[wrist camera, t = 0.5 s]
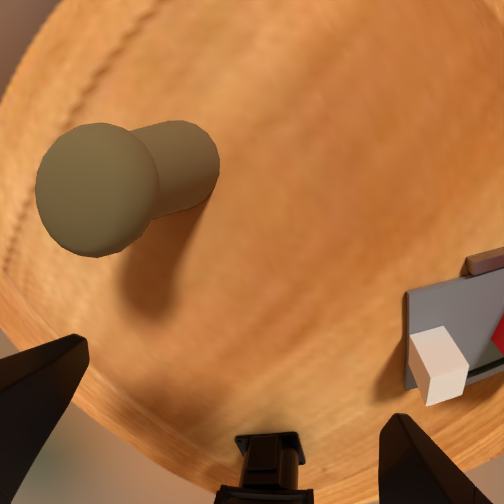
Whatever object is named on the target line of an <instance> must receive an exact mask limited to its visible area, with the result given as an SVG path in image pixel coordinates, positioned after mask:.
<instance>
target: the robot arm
mask: <svg viewBox="0 0 504 504" xmlns="http://www.w3.org/2000/svg"><path fill="white" fill-rule="evenodd" d="M88 365H89V350H88V342H87V339H86V338H85V337H82V336H80V335H78V334H71V335H68V336H65V337H62V338H59V339H56V340H54V341H51V342H48V343H45V344H42V345H39V346H37V347H34V348H31V349H28V350H25V351H22V352H19V353H17V354H14V355H11V356H8V357H5V358H2V359H0V504H11V501H12V500H13V498H14V496H15V494H16V493H17V491H18V489H19V487H20V485H21V483H22V482H23V480H24V478H25V476H26V474H27V472H28V471H29V469H30V467H31V466H32V464H33V462H34V461H35V459H36V457H37V455H38V454H39V452H40V450H41V448H42V447H43V445H44V444H45V442H46V440H47V439H48V437H49V436H50V434H51V432H52V431H53V429H54V427H55V426H56V424H57V422H58V421H59V419H60V418H61V416H62V415H63V413H64V411H65V410H66V408H67V407H68V405H69V403H70V401H71V399H72V397H73V395H74V393H75V391H76V389H77V387H78V385H79V383H80V381H81V379H82V377H83V375H84V373H85V371H86V369H87V367H88ZM235 442H236V444H237V446H238V448H239V450H240V452H241V453H242V455H243V457H244V459H243V465H242V470H241V476H240V482H239V487H232V486H227V485H221V488H220V490H219V491H217V493H216V498H215V501H214V504H314V494H313V489H307V490H298V465H304V464H305V463H306V460H305V456H304V452H303V449H302V445H301V442H300V438H299V435H298V433H297V432H287V433H276V434H264V435H246V436H236V438H235ZM378 485H379V504H493V503H492V502H491V501H490V500H489V499H488V498H487V497H486V496H485V495H484V494H483V493H482V492H481V491H480V490H479V489H478V488H477V487H475V485H474V484H473V483H472V482H471V481H470V480H469V478H468V477H467V476H466V475H465V474H464V473H463V472H462V471H461V470H460V469H459V468H458V467H457V466H456V465H455V464H454V463H453V462H452V461H451V459H450V458H449V457H448V456H447V455H446V454H445V453H444V452H443V451H442V450H441V449H440V448H439V447H438V446H437V445H436V444H435V443H434V441H433V440H432V439H431V438H430V437H429V436H428V435H427V434H426V433H425V432H424V431H423V430H422V429H421V428H420V427H419V426H418V425H417V424H416V422H415V421H414V420H413V419H412V418H411V417H410V416H409V415H408V414H404V413H395V414H393V415H392V417H391V418H390V419H389V421H388V422H387V423H386V425H385V426H384V427H383V428H382V430H381V432H380V436H379V469H378Z"/></svg>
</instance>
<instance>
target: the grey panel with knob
mask: <svg viewBox="0 0 504 504" xmlns="http://www.w3.org/2000/svg"><path fill="white" fill-rule="evenodd" d="M503 314H504V267H501V268H497V269H494V270H491V271H488V272H484V273H481V274H477V275H474V276H473V275H472V274H470V275H467V276H463V277H460V278H456V279H452V280H449V281H445V282H441V283H437V284H433V285H430V286H426V287H422V288H418V289H414V290H409V291H407V347H406V367H405V382H404V387H405V390H406V391H407V390H410V389H414V388H419V391H420V393H421V396H422V398H423V401H424V403H425V406H426V407H427V406H430V405H433V404H436V403H439V402H442V401H445V400H448V399H451V398H454V397H457V396H460V395H462V393H463V389H464V385H465V381H466V377H467V373H468V371H470V370H473V369H475V368H478V367H481V366H483V365H486V364H488V363H491V362H493V361H495V360H498V359H500V358H503V357H504V356H503V355H502V353H501V352H500V351H499V349H498V348H497V347H496V345H495V344H494V343H493V341H492V340H491V337H492V335H493V334H494V332H495V330H496V328H497V326H498V324H499V322H500V320H501V318H502V316H503Z"/></svg>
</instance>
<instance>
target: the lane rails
mask: <svg viewBox="0 0 504 504" xmlns="http://www.w3.org/2000/svg"><path fill="white" fill-rule="evenodd" d="M501 267H504V247H502V248H498V249H494V250H491V251H487V252H484V253H480V254H476V255H472V256H469V257H467V263H466V269H467V270H468V271H469V272H470V273H471V274H472V275H473V276H474V275H477V274H481V273H484V272H488V271H491V270H494V269H497V268H501ZM502 371H504V357H503V358H500V359H498V360H495V361H493V362H491V363H488V364H486V365H483V366H481V367H478V368H475V369H473V370H470V371H468V373H467V377H466V381H465V385H464V386H467V385H470V384H472V383H475V382H478V381H480V380H483V379H485V378H488V377H490V376H492V375H495V374H497V373H499V372H502Z"/></svg>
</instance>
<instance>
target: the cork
mask: <svg viewBox="0 0 504 504" xmlns="http://www.w3.org/2000/svg"><path fill="white" fill-rule="evenodd" d="M219 167H220V159H219V155H218V152H217V148H216V145H215V143H214V142H213V141H212V139H211V138H210V136H209V135H208V133H207V132H205V131H204V130H203V129H201V128H200V127H199V126H197V125H196V124H192V123H189V122H186V121H183V120H182V121H167V122H163V123H158V124H154V125H151V126H147V127H143V128H139V129H136V130H132V131H127V130H126V129H124V128H122V127H118V126H115V125H111V124H107V123H93V124H86V125H81V126H78V127H76V128H74V129H72V130H70V131H68V132H67V133H65V134H63V135H62V136H60V137H59V138H58V139H57V140H56V141H55V143H54V144H53V145H52V146H51V147H50V149H49V150H48V151H47V153H46V154H45V155H44V157H43V159H42V162H41V164H40V167H39V169H38V172H37V178H36V186H35V194H36V204H37V208H38V212H39V215H40V218H41V221H42V223H43V225H44V226H45V228H46V230H47V231H48V233H49V235H50V236H51V237H52V238H53V239H54V240H55V241H56V242H57V243H58V244H59V245H60V246H61V247H62V248H64V249H66V250H68V251H70V252H72V253H74V254H77V255H80V256H85V257H93V258H99V257H103V256H107V255H111V254H114V253H118V252H121V251H122V250H124V249H125V248H126V247H127V246H129V245H130V244H131V243H133V242H134V241H135V240H137V239H138V238H139V237H140V236H141V235H142V234H143V232H144V231H145V229H146V227H147V226H148V224H149V223H150V221H151V220H153V219H156V218H159V217H162V216H166V215H169V214H172V213H176V212H179V211H182V210H186V209H189V208H192V207H195V206H196V205H198V204H199V203H201V202H202V201H204V200H205V199H206V198H207V197H208V196H209V194H210V193H211V192H212V190H213V189H214V188H215V185H216V182H217V179H218V176H219Z"/></svg>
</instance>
